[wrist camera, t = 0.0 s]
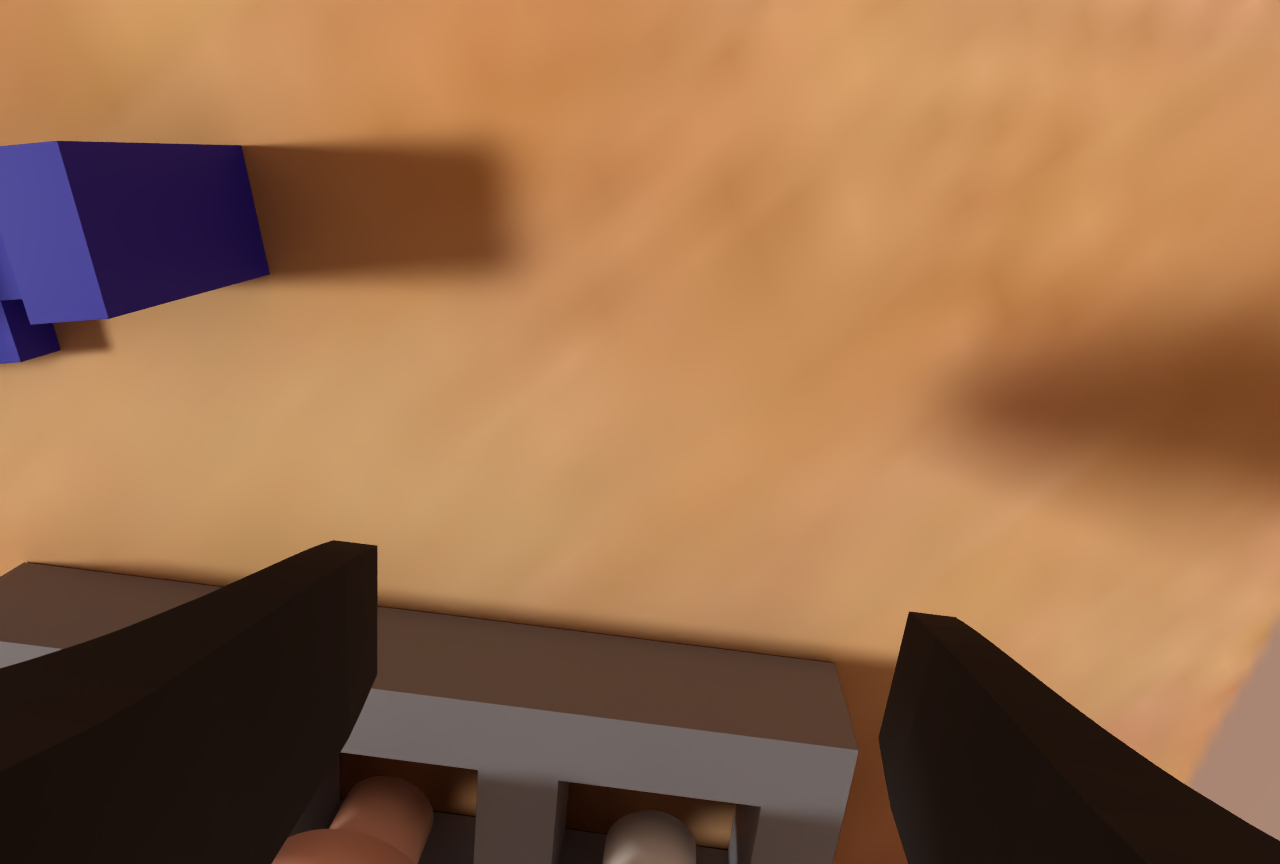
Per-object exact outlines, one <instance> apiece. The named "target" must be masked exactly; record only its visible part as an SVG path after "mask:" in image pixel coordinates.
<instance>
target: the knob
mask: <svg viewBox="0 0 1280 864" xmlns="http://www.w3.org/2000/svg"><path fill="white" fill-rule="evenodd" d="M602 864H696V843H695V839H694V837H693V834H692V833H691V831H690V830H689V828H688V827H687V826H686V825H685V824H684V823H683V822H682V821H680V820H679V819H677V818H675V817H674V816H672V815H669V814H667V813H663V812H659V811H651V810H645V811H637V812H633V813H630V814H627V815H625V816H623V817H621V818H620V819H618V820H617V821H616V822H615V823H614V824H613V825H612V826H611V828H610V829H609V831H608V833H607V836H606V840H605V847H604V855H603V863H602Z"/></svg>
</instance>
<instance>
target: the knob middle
mask: <svg viewBox="0 0 1280 864" xmlns="http://www.w3.org/2000/svg"><path fill="white" fill-rule="evenodd" d="M433 821H434V814H433V809H432V806H431V804H430V802H429V800H428V799H427V797H426V796H425V795H424V794H423V793H422V791H420V790H419V789H418V788H417V787H415V786H414V785H413V784H411V783H409V782H407V781H405V780H402V779H399V778H396V777H391V776H374V777H370V778H366V779H364V780H362V781H360V782H358V783H357V784H356V785H354V786H353V787H352V789H351V790H350V791H349V793H348V795H347V796H346V798H345V800H344V802H343V804H342V806H341V807H340V809H339V811H338V813H337V815H336V817H335V818H334V820H333V822H332V824H331V826H330V828H329V829H318V830H311V831H306V832H302V833H298V834H296V835H293V836H291V837H289V838H287V840H286V841H285V843H284V844H283V846H282V848H281V849H280V851H279V852H278V854H277V856H276V857H275V859H274V860H273V862H272V864H418V862H419V859H420V857H421V854H422V852H423V849H424V847H425V844H426V841H427V839H428V836H429V834H430V831H431V829H432V826H433Z"/></svg>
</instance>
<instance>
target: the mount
mask: <svg viewBox="0 0 1280 864" xmlns="http://www.w3.org/2000/svg"><path fill="white" fill-rule="evenodd" d="M220 588H222V587H218V586H210V585H202V584H194V583H186V582H178V581H170V580H162V579H154V578H146V577H138V576H129V575H121V574H113V573H105V572H97V571H89V570H81V569H73V568H65V567H57V566H49V565H41V564H33V563H25V562H24V563H23V564H21V565H19V566H18V567H16V568H14V569H13V570H11V571H9V572H8V573H6V574H4V575H3V576H1V577H0V668H3V667H7V666H10V665H14V664H17V663H20V662H24V661H27V660H30V659H34V658H37V657H40V656H43V655H46V654H49V653H52V652H55V651H59V650H62V649H65V648H68V647H71V646H74V645H77V644H80V643H83V642H86V641H89V640H92V639H95V638H98V637H100V636H103V635H106V634H109V633H112V632H114V631H117V630H120V629H122V628H125V627H128V626H130V625H133V624H135V623H138V622H140V621H143V620H145V619H147V618H150V617H152V616H155V615H157V614H160V613H162V612H165V611H167V610H170V609H172V608H175V607H177V606H180V605H182V604H185V603H187V602H189V601H192V600H194V599H197V598H199V597H202V596H204V595H206V594H209V593H211V592H213V591H215V590H218V589H220ZM341 752H342V753H350V754H358V755H365V756H373V757H381V758H389V759H396V760H404V761H412V762H419V763H427V764H435V765H443V766H450V767H458V768H466V769H473V770H478V781H477V802H476V817H469V816H462V815H454V814H447V813H439V812H433V814H434V821H433V826H432V829H431V831H430V834H429V836H428V839H427V841H426V844H425V847H424V849H423V852H422V854H421V857H420V859H419V862H418V864H602V863H603V855H604V847H605V840H606V836H607V834H599V833H591V832H584V831H576V830H569V829H565V826H566V815H567V804H568V793H569V782H574V783H582V784H589V785H597V786H605V787H612V788H620V789H628V790H636V791H643V792H651V793H659V794H667V795H674V796H682V797H690V798H697V799H705V800H713V801H721V802H728V803H736V807H735V813H734V819H733V824H732V830H731V836H730V841H729V847H728V850H721V849H714V848H706V847H698V846H696V864H833V860H834V856H835V852H836V847H837V843H838V839H839V834H840V830H841V826H842V821H843V817H844V813H845V808H846V804H847V800H848V795H849V791H850V787H851V782H852V778H853V774H854V769H855V765H856V761H857V756H858V752H859V749H858V746H857V742H856V738H855V735H854V731H853V727H852V724H851V720H850V717H849V713H848V709H847V706H846V702H845V699H844V695H843V691H842V688H841V684H840V681H839V677H838V673H837V670H836V666H835V663H829V662H821V661H813V660H805V659H797V658H789V657H781V656H773V655H765V654H757V653H749V652H741V651H733V650H725V649H717V648H708V647H700V646H692V645H684V644H676V643H668V642H660V641H652V640H644V639H636V638H628V637H620V636H612V635H604V634H596V633H588V632H580V631H572V630H564V629H556V628H548V627H540V626H532V625H524V624H515V623H507V622H499V621H491V620H483V619H475V618H467V617H459V616H451V615H443V614H435V613H427V612H419V611H411V610H403V609H395V608H387V607H379V606H377V676H376V679H375V681H374V683H373V686H372V688H371V690H370V693H369V695H368V697H367V700H366V702H365V704H364V707H363V709H362V711H361V713H360V715H359V718H358V720H357V722H356V724H355V726H354V728H353V730H352V733H351V735H350V737H349V739H348V741H347V742H346V744H345V746H344V747H343V749H342V751H341ZM343 802H344V800H340V758H339V756H338V757H337V759H336V761H335V762H334V764H333V765H332V767H331V769H330V770H329V772H328V774H327V775H326V777H325V779H324V780H323V782H322V783H321V785H320V787H319V788H318V790H317V792H316V793H315V795H314V796H313V798H312V800H311V801H310V803H309V804H308V806H307V808H306V809H305V811H304V812H303V814H302V816H301V817H300V819H299V820H298V822H297V824H296V825H295V827H294V828H293V830H292V832H291V833H290V835H289V836H288V838H289V837H291V836H293V835H296V834H298V833H302V832H306V831H311V830H318V829H329V828H330V826H331V824H332V822H333V820H334V818H335V817H336V815H337V813H338V811H339V809H340V807H341V806H342V804H343Z"/></svg>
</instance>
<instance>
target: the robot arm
mask: <svg viewBox="0 0 1280 864" xmlns="http://www.w3.org/2000/svg"><path fill="white" fill-rule="evenodd" d="M376 676H377V546H375V545H367V544H359V543H351V542H343V541H335V540H333V541H330V542H327V543H324V544H321V545H318V546H315V547H313V548H310V549H308V550H305V551H303V552H301V553H298V554H296V555H294V556H291V557H289V558H287V559H285V560H282V561H280V562H278V563H276V564H274V565H271V566H269V567H267V568H265V569H262V570H260V571H258V572H256V573H254V574H251V575H249V576H247V577H245V578H242V579H240V580H238V581H236V582H233V583H231V584H229V585H227V586H224V587H222V588H220V589H218V590H215V591H213V592H211V593H209V594H206V595H204V596H202V597H199V598H197V599H194V600H192V601H189V602H187V603H185V604H182V605H180V606H177V607H175V608H172V609H170V610H167V611H165V612H162V613H160V614H157V615H155V616H152V617H150V618H147V619H145V620H143V621H140V622H138V623H135V624H133V625H130V626H128V627H125V628H122V629H120V630H117V631H114V632H112V633H109V634H106V635H103V636H100V637H98V638H95V639H92V640H89V641H86V642H83V643H80V644H77V645H74V646H71V647H68V648H65V649H62V650H59V651H55V652H52V653H49V654H46V655H43V656H40V657H37V658H34V659H30V660H27V661H24V662H20V663H17V664H14V665H10V666H7V667H3V668H0V864H272V862H273V860H274V859H275V857H276V856H277V854H278V852H279V851H280V849H281V848H282V846H283V844H284V843H285V841H286V840H287V838H288V836H289V835H290V833H291V832H292V830H293V828H294V827H295V825H296V824H297V822H298V820H299V819H300V817H301V816H302V814H303V812H304V811H305V809H306V808H307V806H308V804H309V803H310V801H311V800H312V798H313V796H314V795H315V793H316V792H317V790H318V788H319V787H320V785H321V783H322V782H323V780H324V779H325V777H326V775H327V774H328V772H329V770H330V769H331V767H332V765H333V764H334V762H335V761H336V759H337V757H338V756H339V754H340V752H341V751H342V749H343V747H344V746H345V744H346V742H347V741H348V739H349V737H350V735H351V733H352V730H353V728H354V726H355V724H356V722H357V720H358V718H359V715H360V713H361V711H362V709H363V707H364V704H365V702H366V700H367V697H368V695H369V693H370V690H371V688H372V686H373V683H374V681H375V679H376ZM879 744H880V750H881V756H882V762H883V768H884V774H885V779H886V784H887V790H888V795H889V800H890V805H891V810H892V813H893V816H894V820H895V823H896V826H897V829H898V832H899V836H900V839H901V842H902V845H903V848H904V851H905V855H906V858H907V861H908V864H1280V841H1279V840H1277V839H1275V838H1273V837H1272V836H1270V835H1268V834H1266V833H1264V832H1263V831H1261V830H1259V829H1257V828H1256V827H1254V826H1252V825H1250V824H1249V823H1247V822H1245V821H1244V820H1242V819H1241V818H1239V817H1237V816H1236V815H1234V814H1232V813H1231V812H1229V811H1228V810H1226V809H1224V808H1223V807H1221V806H1219V805H1218V804H1216V803H1214V802H1213V801H1211V800H1210V799H1208V798H1206V797H1205V796H1203V795H1201V794H1200V793H1198V792H1196V791H1195V790H1193V789H1191V788H1190V787H1188V786H1187V785H1185V784H1184V783H1182V782H1181V781H1179V780H1177V779H1176V778H1174V777H1173V776H1171V775H1170V774H1168V773H1167V772H1165V771H1164V770H1162V769H1161V768H1159V767H1158V766H1156V765H1155V764H1153V763H1152V762H1150V761H1149V760H1148V759H1146V758H1145V757H1143V756H1142V755H1140V754H1139V753H1137V752H1136V751H1135V750H1133V749H1132V748H1130V747H1129V746H1127V745H1126V744H1125V743H1123V742H1122V741H1120V740H1119V739H1117V738H1116V737H1115V736H1113V735H1112V734H1110V733H1109V732H1107V731H1106V730H1105V729H1103V728H1102V727H1101V726H1099V725H1098V724H1097V723H1095V722H1094V721H1093V720H1091V719H1090V718H1088V717H1087V716H1086V715H1084V714H1083V713H1082V712H1080V711H1079V710H1078V709H1076V708H1075V707H1074V706H1072V705H1071V704H1070V703H1068V702H1067V701H1066V700H1065V699H1063V698H1062V697H1061V696H1059V695H1058V694H1057V693H1055V692H1054V691H1053V690H1052V689H1050V688H1049V687H1048V686H1046V685H1045V684H1044V683H1043V682H1041V681H1040V680H1039V679H1037V678H1036V677H1035V676H1034V675H1032V674H1031V673H1030V672H1028V671H1027V670H1026V669H1025V668H1023V667H1022V666H1021V665H1020V664H1018V663H1017V662H1016V661H1015V660H1013V659H1012V658H1011V657H1009V656H1008V655H1007V654H1006V653H1004V652H1003V651H1002V650H1000V649H999V648H998V647H997V646H995V645H994V644H993V643H991V642H990V641H989V640H987V639H986V638H985V637H983V636H982V635H981V634H979V633H978V632H977V631H975V630H974V629H973V628H971V627H970V626H968V625H967V624H965V623H964V622H962V621H960V620H959V619H957V618H956V617H949V616H941V615H933V614H925V613H917V612H909V614H908V618H907V622H906V627H905V631H904V635H903V639H902V643H901V647H900V651H899V656H898V660H897V664H896V668H895V672H894V676H893V680H892V685H891V689H890V693H889V697H888V701H887V705H886V709H885V714H884V718H883V722H882V726H881V730H880V734H879Z"/></svg>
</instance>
